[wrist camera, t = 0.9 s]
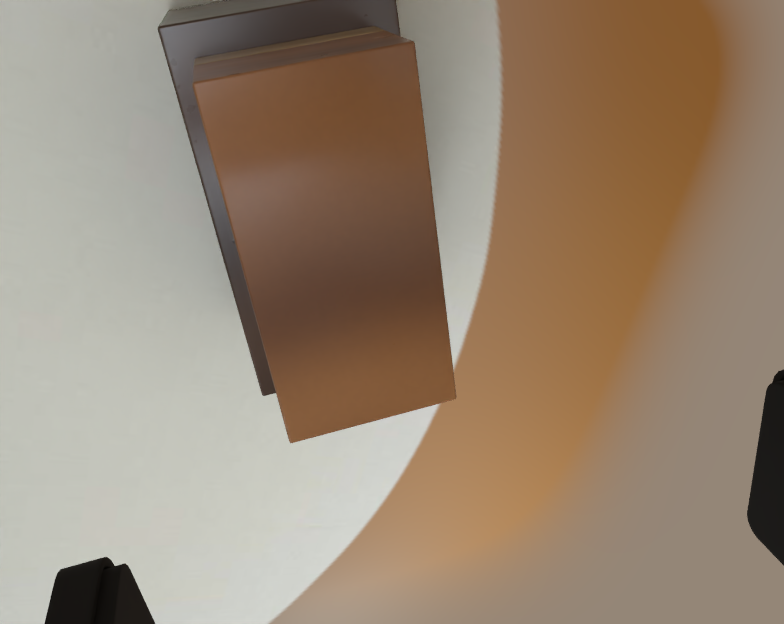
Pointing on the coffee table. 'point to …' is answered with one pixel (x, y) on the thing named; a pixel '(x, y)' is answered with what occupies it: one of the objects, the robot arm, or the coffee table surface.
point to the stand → (239, 32)
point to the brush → (333, 222)
